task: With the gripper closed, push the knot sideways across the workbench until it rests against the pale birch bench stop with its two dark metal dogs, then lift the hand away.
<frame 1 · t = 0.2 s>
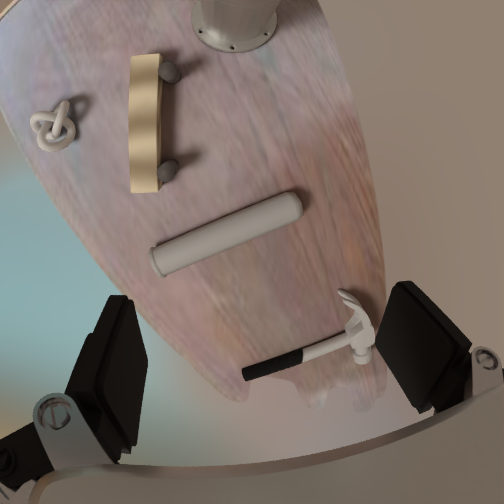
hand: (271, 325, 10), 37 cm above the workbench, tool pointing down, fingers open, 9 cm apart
bench stop: (148, 122, 38), on the workbench
knot: (63, 127, 36), on the workbench
tube: (226, 226, 47), on the workbench
claw hammer: (303, 341, 61), on the workbench
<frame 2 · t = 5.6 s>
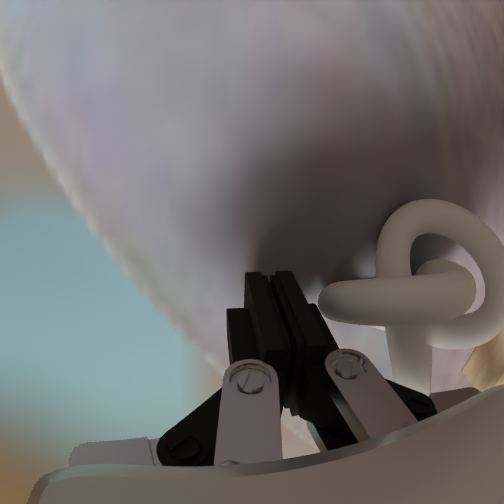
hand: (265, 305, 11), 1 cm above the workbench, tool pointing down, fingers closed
knot: (387, 275, 13), on the workbench, touching gripper
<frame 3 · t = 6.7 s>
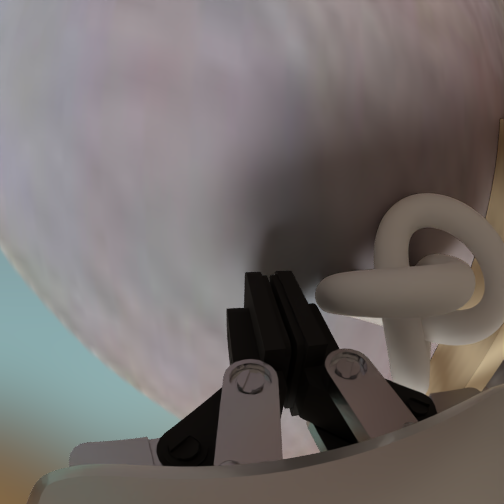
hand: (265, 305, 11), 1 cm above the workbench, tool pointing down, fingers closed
bench stop: (483, 277, 14), on the workbench
knot: (385, 270, 13), on the workbench
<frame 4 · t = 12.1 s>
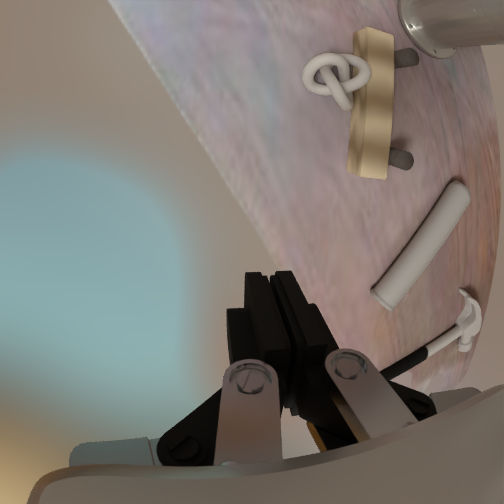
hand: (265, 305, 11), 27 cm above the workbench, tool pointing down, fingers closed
bench stop: (364, 101, 33), on the workbench
knot: (329, 84, 32), on the workbench
tube: (417, 236, 44), on the workbench
claw hammer: (424, 339, 57), on the workbench
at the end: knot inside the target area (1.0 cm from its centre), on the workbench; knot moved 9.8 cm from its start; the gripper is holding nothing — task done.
